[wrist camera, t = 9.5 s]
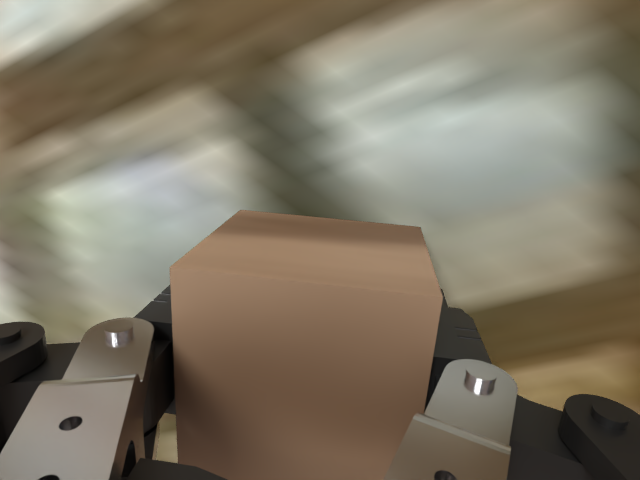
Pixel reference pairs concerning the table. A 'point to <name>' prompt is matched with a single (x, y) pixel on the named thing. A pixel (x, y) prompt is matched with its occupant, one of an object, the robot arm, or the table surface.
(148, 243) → the table surface
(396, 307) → the block
